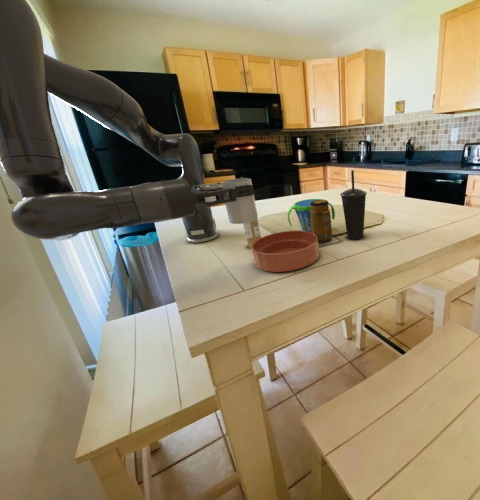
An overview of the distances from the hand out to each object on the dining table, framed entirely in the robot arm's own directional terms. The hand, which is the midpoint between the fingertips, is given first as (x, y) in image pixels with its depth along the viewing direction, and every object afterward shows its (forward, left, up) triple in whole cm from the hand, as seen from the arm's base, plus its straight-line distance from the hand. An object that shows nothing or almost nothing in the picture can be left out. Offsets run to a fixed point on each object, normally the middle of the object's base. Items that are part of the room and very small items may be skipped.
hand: (247, 187), depth 61 cm
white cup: (+1, -2, -7) cm, 7 cm away
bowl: (-3, +6, -20) cm, 21 cm away
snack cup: (-24, +13, -20) cm, 34 cm away
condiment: (-15, +16, -20) cm, 30 cm away
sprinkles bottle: (-16, -5, -20) cm, 26 cm away
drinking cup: (-15, +26, -20) cm, 36 cm away
